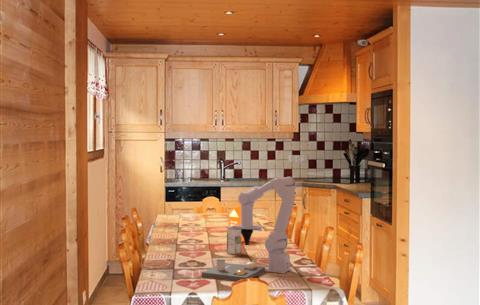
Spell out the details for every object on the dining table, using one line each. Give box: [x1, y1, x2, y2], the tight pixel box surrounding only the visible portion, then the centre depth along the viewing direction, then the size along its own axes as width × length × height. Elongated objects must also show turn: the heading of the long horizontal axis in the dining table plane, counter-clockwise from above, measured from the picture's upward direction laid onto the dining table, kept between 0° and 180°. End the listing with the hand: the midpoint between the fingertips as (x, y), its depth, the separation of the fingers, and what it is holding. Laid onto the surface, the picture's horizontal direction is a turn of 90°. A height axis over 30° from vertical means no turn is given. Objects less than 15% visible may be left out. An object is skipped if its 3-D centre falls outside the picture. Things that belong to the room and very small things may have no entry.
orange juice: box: [228, 205, 245, 242], centre depth 331 cm, size 8×9×20 cm
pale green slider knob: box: [216, 258, 226, 270], centre depth 252 cm, size 3×2×5 cm, turn 63°
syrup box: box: [226, 225, 243, 255], centre depth 296 cm, size 6×6×14 cm
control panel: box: [201, 262, 266, 282], centre depth 253 cm, size 22×20×2 cm
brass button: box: [236, 270, 245, 276], centre depth 246 cm, size 4×4×3 cm
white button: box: [245, 261, 256, 270], centre depth 255 cm, size 4×4×3 cm
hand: (247, 244), depth 272 cm, fingers closed
